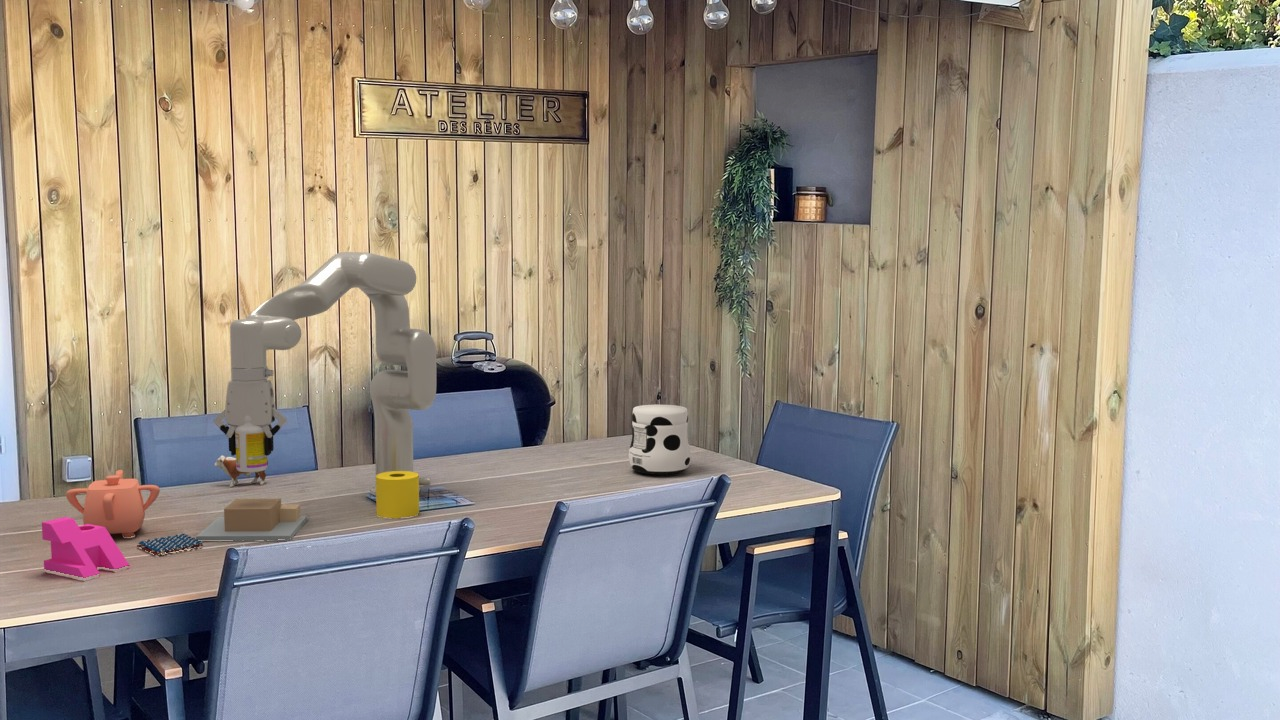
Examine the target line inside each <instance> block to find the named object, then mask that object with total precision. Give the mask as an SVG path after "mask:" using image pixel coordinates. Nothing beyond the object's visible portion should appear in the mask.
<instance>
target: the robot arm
mask: <svg viewBox="0 0 1280 720" xmlns="http://www.w3.org/2000/svg"><path fill="white" fill-rule="evenodd" d="M416 284H417V274H416V270H415V269H414V268H413V266H412V265H411V264H410V263H409V262H407V261H405V260H400V259H396V258H392V257H388V256H384V255H380V254H375V253H372V252H371V253H370V252H363V251H362V252H358V251H356V252H355V251H354V252H353V251H343V252H337V253H335V254H333V255H332V256H331V257H330V258H329V259H328V260H327V261H325V262H324V263H322V265H321V266H319V268H317V269H316V270H315V271H314V272H313V273H312V274H311V275H310V276H308V277H307V278H306V279H305V280H304V281H303V282H301V283H299V284H298V285H296V286H293V287H290V288H288V289H286V290H285V291H283V292H281V293H278V294H276V295H274V296H272V297H270V298H268V299H267V300H266V301H264V302H262V303H261V304H260V305H258V306H257V307H256V308H255V309H254V310H252V312H251V313H249V315H248V316H247V317H246V318H242V319H241V318H240V319H236V320H232V321H231V323H230V327H229V334H230V335H229V337H230V372H231V380H229V381H228V384H227V390H226V396H225V397H226V398H225V409H224V410H223V411H222V412H220V413H219V414H218V415H217V416H216V417H215V418H214V419H213V423H214V424H215V425H216V426H217V427H218V428H219V430H220V431H221V432H223V434H224V435H225V436H226V437H227V438H228V452H230V455H231V456H230V457H234V456H236V443H235V429H236V427H237V426H242V425H244V424H245V423H246V422H247V421H245V420H244V418H245V416H250V418H251V419H252V420H250V421H249V423H251V424H252V425H255V426H262V428H263V430H264V432H265V434H266V438H265V439H264V444H265V455H266V456H267V457H268V456H269V455H271V454H272V452H273V451H274V449H275V448H274V436H275V435H276V434H277V433H278V432H279V431H280V430H281V429H282V427H284V425H285V424H286V423H287V422H288V418H287V417H285V415H283V414H282V413H281V412H280V411H279V410H277V409H276V404H275V395H274V394H275V393H274V388H273V383H272V380H271V379H268V378H269V377H272V376H274V374H275V373H274V369H269V368H268V366H267V361H268V359H267V351H268V350H270V351H272V350H273V351H276V350H277V351H286V350H287V351H288V350H291V349H292V348H295V347H296V346H297V345H298V344H299V342H300V340H301V338H302V329H301V327H300V325H299V324H298V323H297V321H296V320H299V319H304V318H309V317H313V316H317V315H320V314H323V313H324V312H325V313H326V311H328V310H329V309H330V308H332V306H333V305H335V304H336V303H337V302H338V301H339V300H340V299H341V298H342V297H343V296H345V294H347V292H349V291H350V290H351V289H354V288H355V289H356V288H359V290H360V291H361V292H362V293H364V294H365V295H366V297H367V298H368V299H369V301H370V302H371V304H372V306H373V310H374V318H375V324H374V325H375V353H376V357H377V358H378V361H380V362H381V363H383V364H387V365H389V366H390V365H391V366H399V367H400V366H403V367H406V368H407V370H402V369H401V370H399V369H385V370H381V371H378V372H377V373H376V374H375V375H374V376H373V377H372V379H371V382H370V385H369V393H370V394H369V395H370V399H371V403H372V409H373V414H374V415H373V417H374V449H375V451H374V453H375V454H374V455H375V456H374V457H375V476H376V475H377V474H380V473H383V472H390V471H411V472H414V433H413V432H414V425H413V419H412V416H411V414H410V412H409V410H411V411H412V410H413V411H424V410H427V409H429V408H430V407H431V406H432V405H433V403H434V401H435V399H436V396H437V395H436V394H437V346H436V343H435V340H434V338H433V337H432V335H431V334H430V333H429V332H427V331H426V330H423V329H417V328H411V324H410V323H411V322H410V321H411V320H410V307H409V303H408V301H407V299H406V297H405V296H406V295H408V294H410V293H411V292H412V291H413V290H414V288H415V287H416ZM224 419H225V422H226V423H225V422H224ZM276 420H277V421H278V422H277V423H276V424H275V426H274V427H273V426H272V424H273V423H274V422H275V421H276ZM420 486H424V487H430V486H432V479H431V478H428V477H419V492H420V491H421V489H420ZM369 493H370V495H372V496H375V495H376V484H375V485H373V486H371V487H369Z"/></svg>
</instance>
